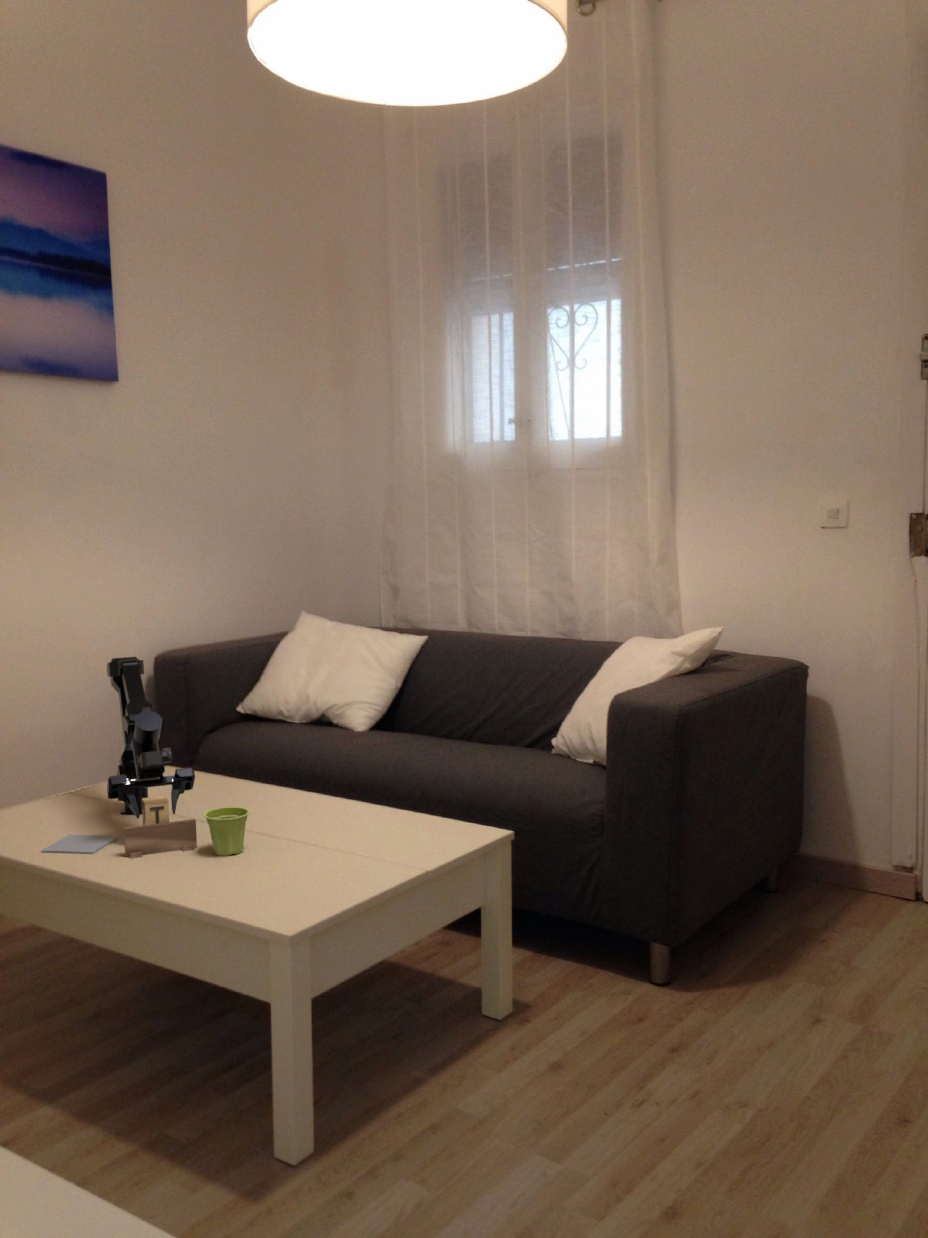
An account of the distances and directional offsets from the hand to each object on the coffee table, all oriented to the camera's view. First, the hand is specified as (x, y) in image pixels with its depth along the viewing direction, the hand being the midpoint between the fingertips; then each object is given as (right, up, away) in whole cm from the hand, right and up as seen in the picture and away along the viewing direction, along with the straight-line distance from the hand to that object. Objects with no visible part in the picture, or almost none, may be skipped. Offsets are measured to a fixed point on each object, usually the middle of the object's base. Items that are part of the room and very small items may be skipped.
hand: (156, 815), depth 246 cm
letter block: (0, -7, +2) cm, 7 cm away
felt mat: (-17, -7, +2) cm, 19 cm away
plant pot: (+17, -7, -5) cm, 19 cm away
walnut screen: (+2, -7, -4) cm, 8 cm away
